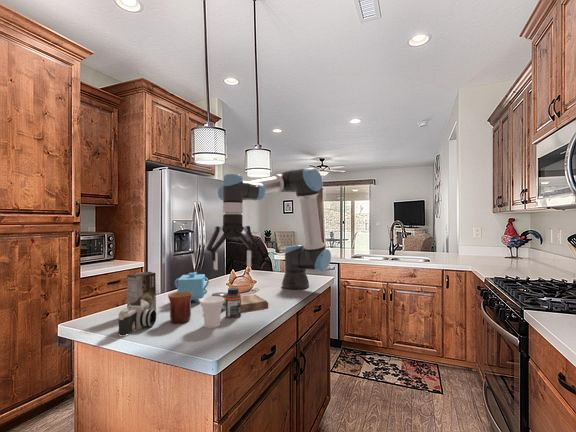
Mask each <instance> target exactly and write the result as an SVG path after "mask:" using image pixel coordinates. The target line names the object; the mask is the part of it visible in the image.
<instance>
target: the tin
mask: <svg viewBox="0 0 576 432" xmlns="http://www.w3.org/2000/svg"><path fill="white" fill-rule="evenodd" d="M227 293H228V292H223V291H222V292H214V293H212V294H211V296H220V297H223V298H224V302H223V304H222V309H221V312H226V294H227Z"/></svg>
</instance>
